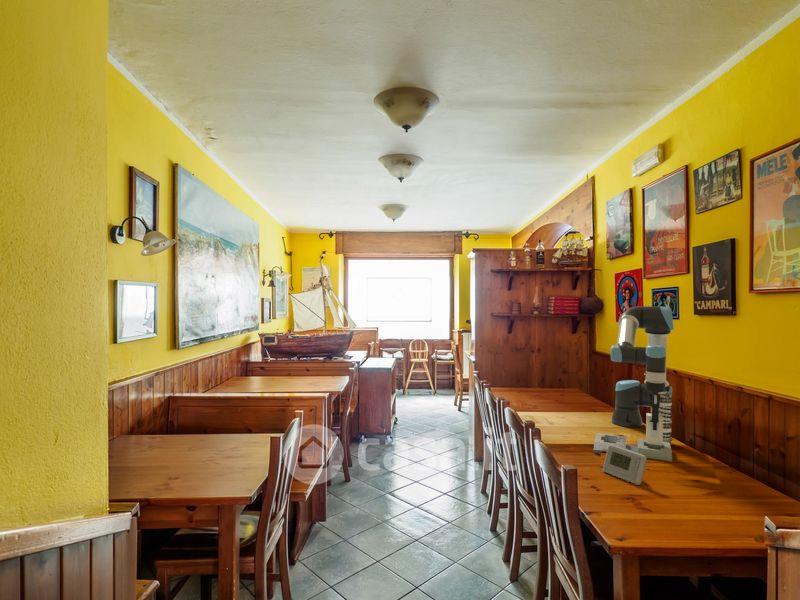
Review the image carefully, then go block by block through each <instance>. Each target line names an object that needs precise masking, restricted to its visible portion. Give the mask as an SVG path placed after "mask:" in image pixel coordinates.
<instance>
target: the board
mask: <svg viewBox="0 0 800 600" xmlns="http://www.w3.org/2000/svg"><path fill="white" fill-rule="evenodd" d="M626 449H628V450H631V451H634V452H637V453H638V445H633V444H627V443H626ZM592 451H593V452H592V453H593V454H597V455H598V454H599V455H602V453H603V451H600V450H594V448H593V449H592ZM604 452H606V453H607V451H604ZM650 459H651V460H654V459H653V458H650ZM657 460H659V461H661V460H660V459H657ZM664 461H666V462H668V461H667V460H664ZM670 462H673V460H672V461H670Z"/></svg>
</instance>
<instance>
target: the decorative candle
mask: <svg viewBox="0 0 800 600" xmlns="http://www.w3.org/2000/svg"><path fill="white" fill-rule="evenodd" d="M658 395H660V406H659V415H662V416H663V435H662V442H668V443H670V446H671V445H672V442H673V441H672V440H673V439H672V437H673V436H672V435H673V434H672V433H673V432H672V423H673V420H672V419H673V415H674V414H673V413H672V411H674V408H673V407H674V405H673V403H672V397H673V395H672V396H671V395H670V394H669V393H668V392H665V391H664V392H658Z"/></svg>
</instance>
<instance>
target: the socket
mask: <svg viewBox="0 0 800 600" xmlns="http://www.w3.org/2000/svg"><path fill="white" fill-rule="evenodd" d="M610 444H612V445H615V446H618V447H619V446H620V447H623V448H625V449H626V444H627V436H624V435H622V436H621V435H615V434H610V433H609V434H607V433H601V432H600V433H599V432H596V433H595V437H594V441H593V449H594V450H600V451H602V452H605V451H607V450H608V446H609V445H610Z"/></svg>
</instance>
